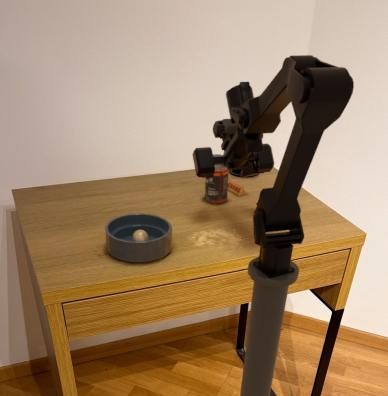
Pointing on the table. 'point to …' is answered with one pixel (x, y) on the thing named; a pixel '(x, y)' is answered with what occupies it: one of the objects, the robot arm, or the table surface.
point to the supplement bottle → (217, 185)
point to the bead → (140, 236)
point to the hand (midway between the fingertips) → (223, 176)
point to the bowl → (143, 250)
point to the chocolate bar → (236, 188)
